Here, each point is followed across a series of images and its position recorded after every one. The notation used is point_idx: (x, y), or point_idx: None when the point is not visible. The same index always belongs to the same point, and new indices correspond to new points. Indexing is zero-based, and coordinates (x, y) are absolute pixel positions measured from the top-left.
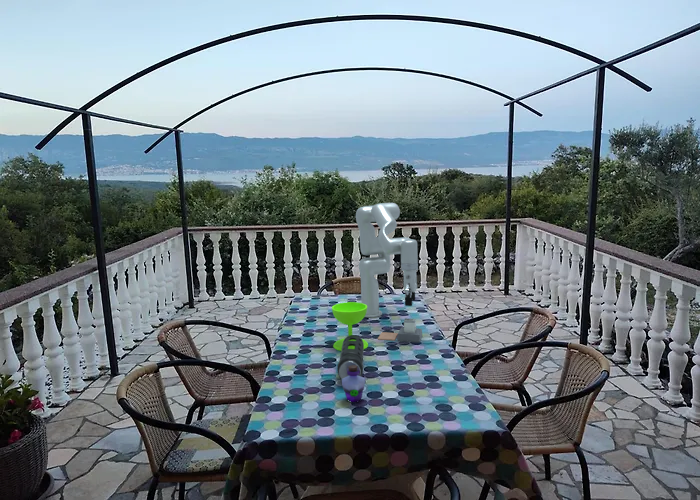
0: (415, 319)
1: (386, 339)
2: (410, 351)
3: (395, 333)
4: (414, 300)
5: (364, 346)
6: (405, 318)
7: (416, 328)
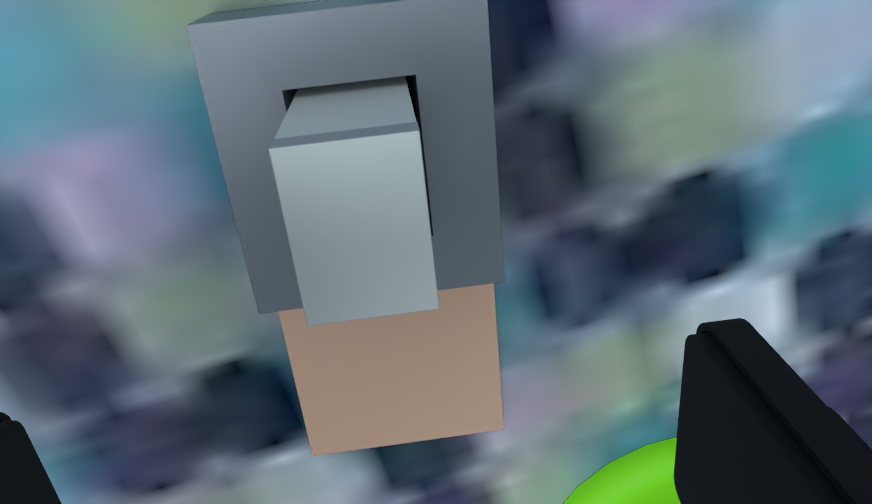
0: (304, 147)
1: (498, 353)
2: (790, 18)
3: (302, 328)
4: (6, 419)
5: None
6: (309, 321)
7: (215, 111)
